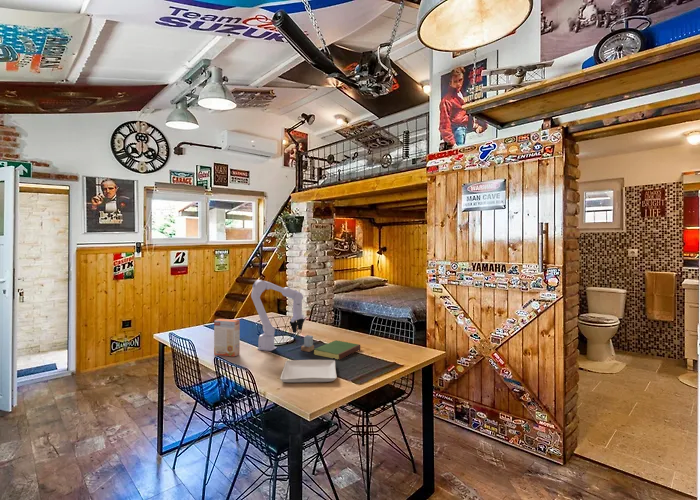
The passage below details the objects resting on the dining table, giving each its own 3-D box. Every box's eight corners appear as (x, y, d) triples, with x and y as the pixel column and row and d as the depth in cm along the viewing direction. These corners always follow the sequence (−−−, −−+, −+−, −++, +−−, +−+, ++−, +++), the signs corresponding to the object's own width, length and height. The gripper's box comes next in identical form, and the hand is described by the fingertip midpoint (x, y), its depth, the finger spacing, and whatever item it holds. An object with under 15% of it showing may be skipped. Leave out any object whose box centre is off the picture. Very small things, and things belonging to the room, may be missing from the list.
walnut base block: (301, 351, 237) (301, 346, 237) (305, 348, 242) (305, 344, 242) (309, 352, 235) (309, 347, 234) (314, 349, 240) (314, 345, 240)
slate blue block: (304, 346, 237) (304, 336, 237) (307, 344, 241) (307, 335, 241) (309, 347, 236) (309, 337, 236) (312, 345, 240) (312, 335, 239)
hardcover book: (339, 360, 220) (339, 354, 220) (313, 355, 230) (313, 349, 229) (360, 350, 241) (360, 344, 241) (336, 345, 251) (336, 340, 251)
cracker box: (240, 354, 228) (240, 319, 227) (234, 357, 222) (234, 321, 222) (219, 352, 232) (219, 318, 231) (213, 354, 226) (213, 320, 225)
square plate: (285, 366, 208) (285, 359, 208) (335, 366, 210) (335, 359, 210) (279, 385, 181) (279, 377, 181) (336, 385, 183) (336, 377, 183)
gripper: (298, 312, 238) (297, 334, 238) (307, 308, 251) (307, 329, 252) (287, 311, 240) (287, 333, 240) (298, 308, 254) (297, 328, 254)
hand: (297, 331), depth 246 cm, fingers open, 7 cm apart
